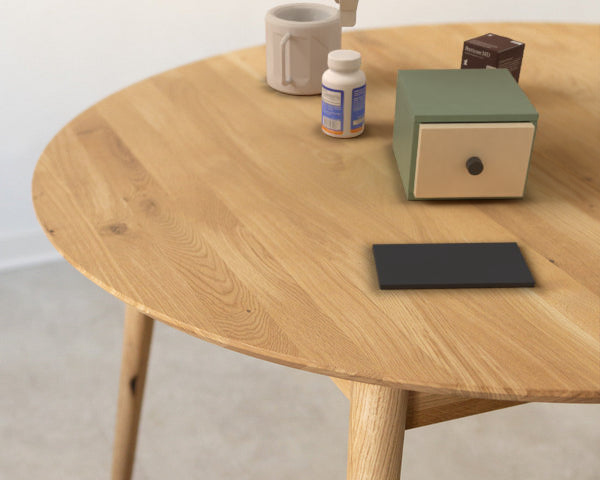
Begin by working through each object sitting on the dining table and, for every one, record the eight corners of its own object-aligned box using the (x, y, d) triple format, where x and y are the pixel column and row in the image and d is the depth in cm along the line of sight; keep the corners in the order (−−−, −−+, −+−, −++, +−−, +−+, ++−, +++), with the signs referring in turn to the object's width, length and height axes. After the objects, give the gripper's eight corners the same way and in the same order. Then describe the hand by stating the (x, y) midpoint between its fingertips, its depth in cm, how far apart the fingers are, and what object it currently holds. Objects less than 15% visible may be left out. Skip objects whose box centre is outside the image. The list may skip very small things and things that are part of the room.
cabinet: (523, 198, 84) (539, 113, 78) (407, 200, 84) (414, 115, 78) (495, 145, 95) (507, 68, 90) (392, 147, 95) (397, 69, 89)
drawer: (525, 202, 81) (538, 131, 77) (416, 203, 81) (423, 133, 77) (495, 147, 93) (505, 83, 88) (400, 148, 92) (404, 84, 88)
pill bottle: (358, 120, 102) (361, 45, 96) (368, 137, 97) (372, 60, 92) (317, 123, 101) (318, 48, 95) (325, 140, 96) (327, 62, 91)
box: (455, 93, 109) (462, 40, 105) (483, 83, 113) (489, 32, 108) (490, 105, 106) (498, 51, 101) (517, 95, 109) (526, 42, 105)
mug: (283, 66, 119) (282, -2, 113) (350, 75, 116) (353, 5, 110) (246, 97, 108) (243, 24, 103) (319, 108, 105) (320, 32, 99)
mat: (515, 246, 76) (516, 241, 76) (534, 286, 70) (535, 282, 70) (372, 248, 76) (372, 244, 76) (379, 289, 70) (380, 284, 70)
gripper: (390, -106, 74) (380, 40, 82) (369, -134, 91) (363, -10, 99) (324, -106, 74) (320, 40, 82) (315, -134, 91) (313, -10, 99)
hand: (344, 13), depth 91 cm, fingers open, 8 cm apart
